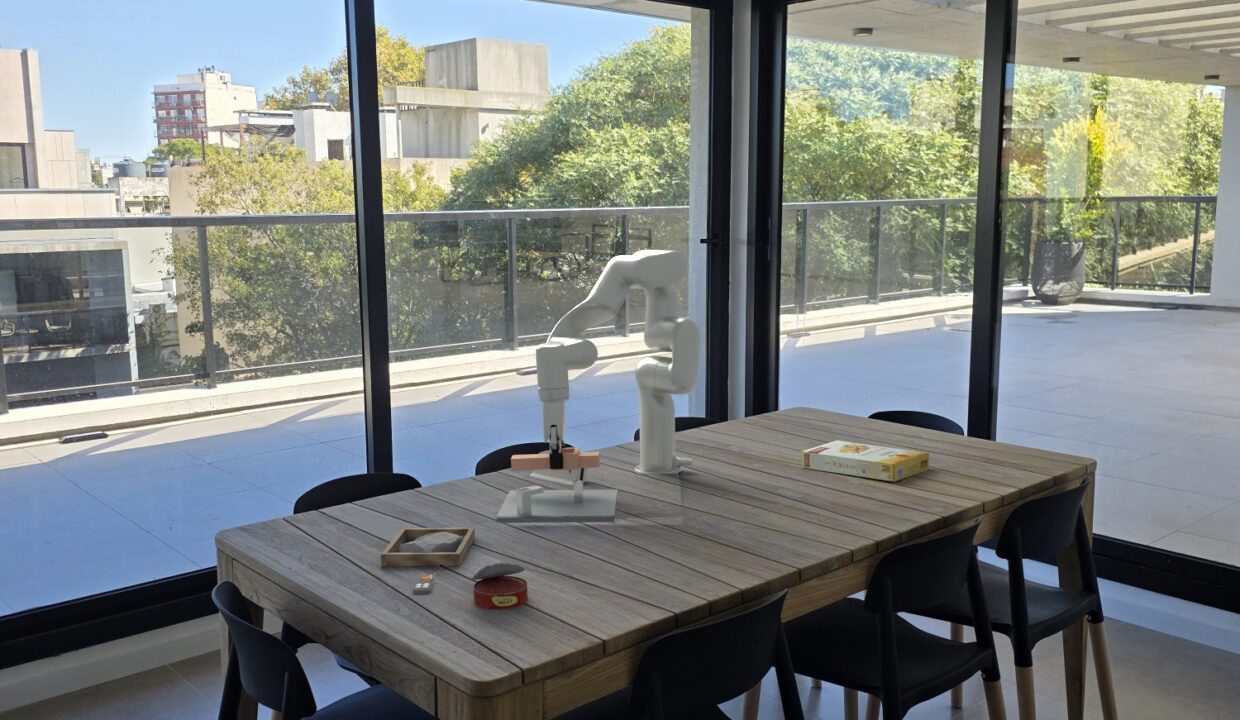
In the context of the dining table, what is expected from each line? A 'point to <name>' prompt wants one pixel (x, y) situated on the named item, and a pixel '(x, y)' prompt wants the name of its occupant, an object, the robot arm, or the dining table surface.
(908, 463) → the cereal box
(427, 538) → the stone block
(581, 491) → the pin
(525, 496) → the bracket
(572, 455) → the link
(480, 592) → the canned food
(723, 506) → the dining table surface
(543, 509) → the board
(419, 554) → the tray
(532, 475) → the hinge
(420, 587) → the key chain
